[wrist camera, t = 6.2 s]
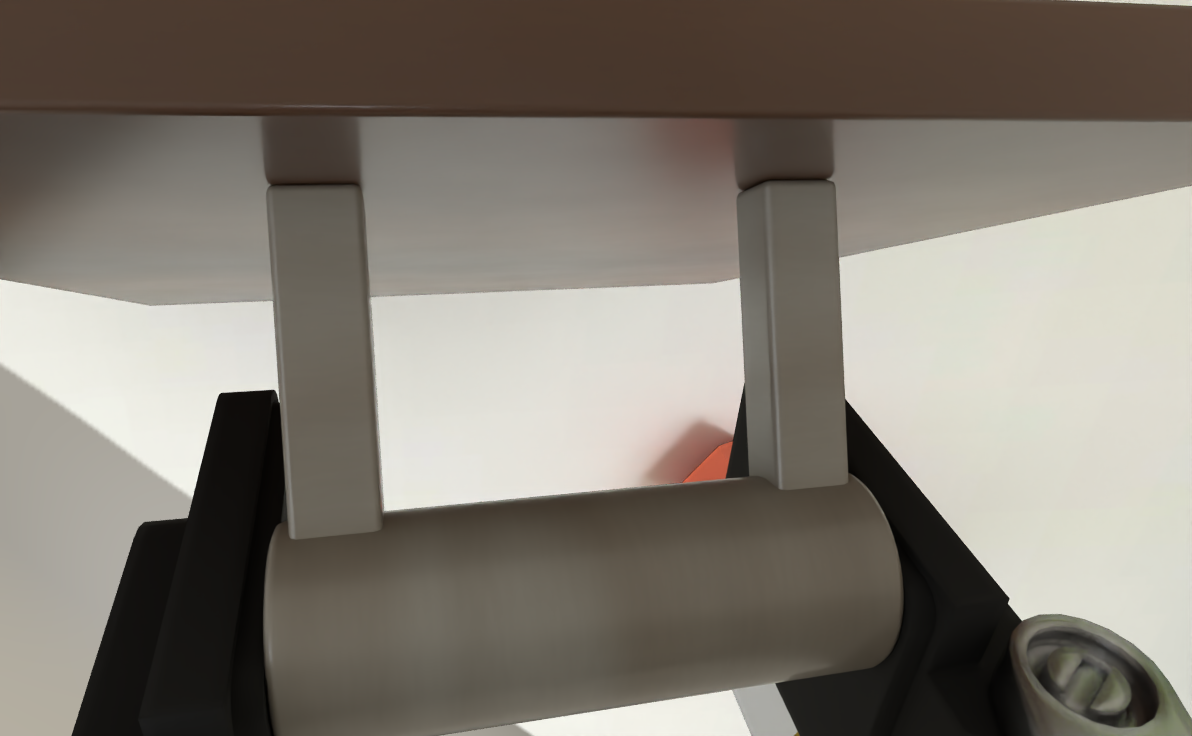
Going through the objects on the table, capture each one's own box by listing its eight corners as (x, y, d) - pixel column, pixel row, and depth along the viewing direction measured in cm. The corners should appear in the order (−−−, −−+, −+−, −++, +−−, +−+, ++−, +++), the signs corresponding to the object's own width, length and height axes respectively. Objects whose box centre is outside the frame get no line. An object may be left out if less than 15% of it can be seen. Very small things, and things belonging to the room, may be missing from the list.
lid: (-1051, -103, 3) (-896, 1171, 4) (1504, 16, 7) (1516, 688, 7) (145, 270, 20) (162, 496, 20) (713, 253, 23) (723, 448, 23)
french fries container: (706, 407, 39) (918, 769, 24) (846, 500, 44) (1090, 843, 29) (639, 475, 40) (801, 860, 25) (783, 558, 45) (987, 914, 31)
